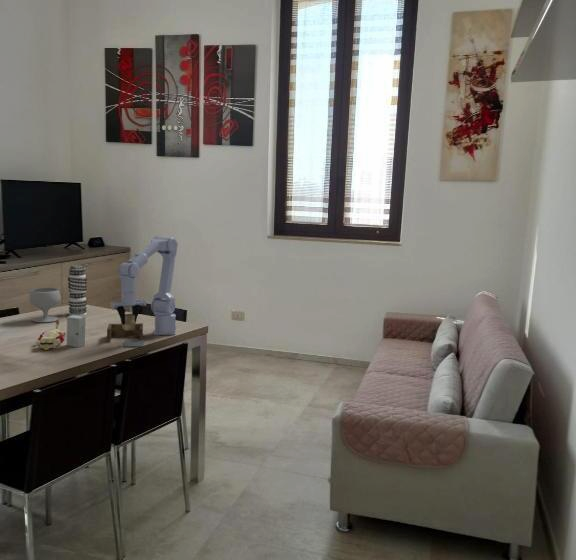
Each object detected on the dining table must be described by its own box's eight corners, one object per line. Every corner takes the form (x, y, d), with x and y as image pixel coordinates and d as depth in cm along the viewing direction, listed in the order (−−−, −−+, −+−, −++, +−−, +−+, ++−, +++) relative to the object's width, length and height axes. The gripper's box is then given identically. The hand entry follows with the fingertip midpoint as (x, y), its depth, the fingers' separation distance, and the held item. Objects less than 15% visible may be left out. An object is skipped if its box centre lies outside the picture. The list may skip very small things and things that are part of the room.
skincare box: (66, 345, 226) (65, 316, 224) (73, 343, 230) (73, 314, 228) (78, 347, 224) (78, 318, 222) (86, 344, 228) (85, 316, 226)
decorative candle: (64, 315, 278) (63, 266, 274) (74, 311, 287) (73, 264, 284) (81, 316, 277) (80, 267, 273) (90, 313, 286) (90, 265, 282)
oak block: (131, 327, 234) (131, 313, 233) (134, 329, 231) (134, 315, 230) (122, 328, 232) (122, 314, 231) (125, 330, 229) (125, 316, 228)
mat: (144, 342, 236) (144, 340, 236) (143, 347, 229) (143, 345, 229) (124, 342, 234) (124, 341, 234) (123, 347, 227) (123, 346, 227)
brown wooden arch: (142, 335, 247) (142, 323, 246) (142, 341, 237) (142, 329, 236) (109, 335, 243) (109, 323, 243) (107, 342, 234) (107, 329, 233)
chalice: (43, 325, 257) (43, 293, 255) (23, 321, 263) (22, 290, 261) (67, 319, 270) (67, 289, 268) (47, 315, 276) (46, 286, 274)
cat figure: (46, 338, 240) (32, 350, 216) (46, 319, 239) (32, 328, 215) (70, 338, 242) (59, 349, 218) (70, 318, 242) (59, 328, 217)
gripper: (142, 288, 236) (142, 319, 238) (108, 291, 228) (108, 323, 230) (148, 291, 230) (148, 323, 232) (113, 294, 222) (113, 326, 224)
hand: (128, 323), depth 231 cm, fingers closed on oak block, 4 cm apart
